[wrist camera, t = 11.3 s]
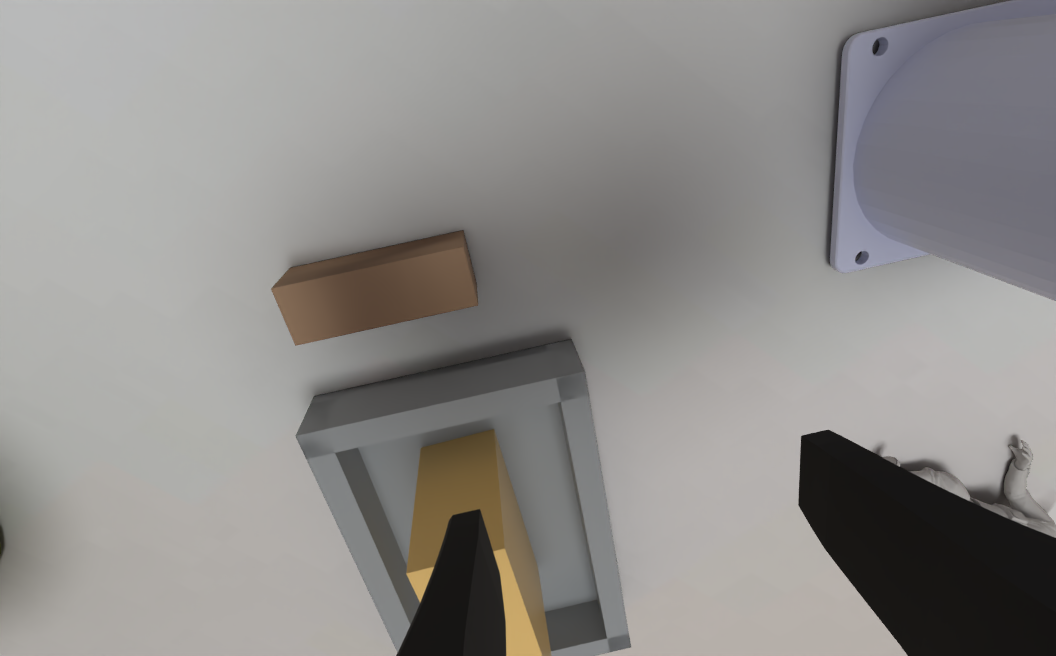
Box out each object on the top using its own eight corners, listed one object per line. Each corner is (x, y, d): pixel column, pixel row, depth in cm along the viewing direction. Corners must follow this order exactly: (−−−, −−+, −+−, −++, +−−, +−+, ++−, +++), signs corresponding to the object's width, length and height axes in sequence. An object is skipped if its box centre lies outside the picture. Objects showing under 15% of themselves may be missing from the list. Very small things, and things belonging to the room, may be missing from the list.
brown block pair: (331, -298, 13) (309, -361, 11) (476, 283, 19) (478, 305, 17) (80, -248, 13) (15, -303, 11) (311, 320, 19) (295, 345, 17)
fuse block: (494, 428, 21) (504, 548, 16) (537, 566, 25) (558, 703, 19) (420, 447, 21) (406, 573, 16) (474, 582, 25) (477, 724, 19)
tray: (571, 339, 21) (584, 371, 18) (617, 599, 27) (630, 647, 25) (314, 396, 20) (295, 436, 18) (422, 645, 27) (418, 696, 25)
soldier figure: (894, 393, 25) (1171, 477, 24) (835, 419, 29) (1067, 491, 28) (886, 569, 22) (1205, 675, 21) (823, 569, 26) (1081, 656, 25)
